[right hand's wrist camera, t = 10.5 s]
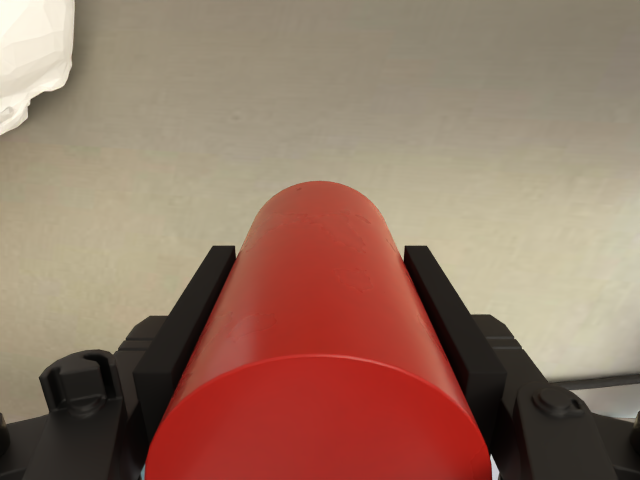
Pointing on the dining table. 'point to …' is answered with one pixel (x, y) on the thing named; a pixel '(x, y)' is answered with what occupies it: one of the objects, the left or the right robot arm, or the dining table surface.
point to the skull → (32, 53)
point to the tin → (318, 361)
